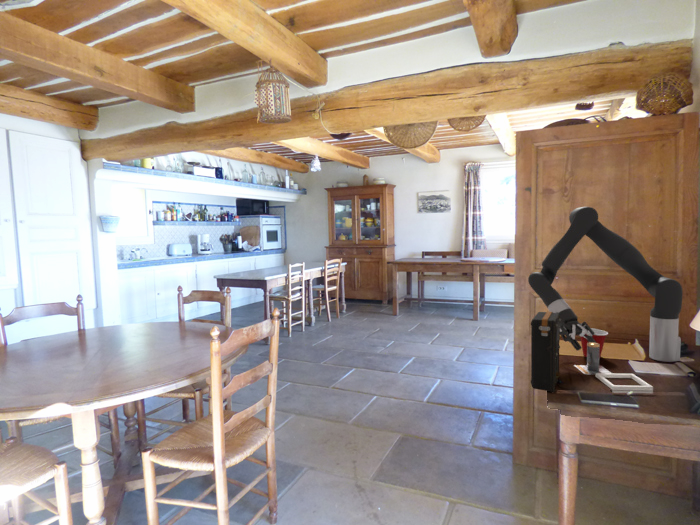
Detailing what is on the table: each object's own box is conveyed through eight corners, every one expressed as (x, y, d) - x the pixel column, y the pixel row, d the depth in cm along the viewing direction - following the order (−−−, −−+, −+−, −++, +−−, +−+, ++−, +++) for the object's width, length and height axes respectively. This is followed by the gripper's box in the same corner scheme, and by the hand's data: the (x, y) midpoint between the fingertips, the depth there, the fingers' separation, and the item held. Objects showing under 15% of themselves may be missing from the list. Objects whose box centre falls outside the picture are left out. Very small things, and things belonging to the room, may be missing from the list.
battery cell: (596, 367, 159) (596, 342, 158) (601, 371, 155) (601, 345, 155) (585, 367, 160) (585, 342, 159) (589, 371, 156) (590, 345, 155)
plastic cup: (612, 362, 167) (612, 333, 166) (582, 362, 169) (583, 333, 168) (601, 354, 178) (602, 327, 177) (574, 354, 180) (574, 326, 179)
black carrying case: (557, 394, 139) (557, 320, 137) (529, 389, 143) (529, 318, 141) (562, 379, 152) (562, 311, 150) (536, 375, 156) (536, 309, 154)
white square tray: (632, 379, 149) (632, 373, 149) (652, 393, 137) (653, 386, 137) (595, 379, 151) (595, 373, 151) (612, 392, 138) (612, 386, 138)
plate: (600, 367, 162) (600, 365, 162) (613, 377, 152) (613, 374, 152) (573, 367, 163) (573, 364, 163) (584, 376, 153) (584, 373, 153)
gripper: (554, 309, 163) (580, 345, 154) (580, 305, 169) (607, 340, 159) (543, 320, 169) (567, 355, 159) (569, 316, 174) (594, 350, 165)
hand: (587, 347), depth 159 cm, fingers open, 8 cm apart
